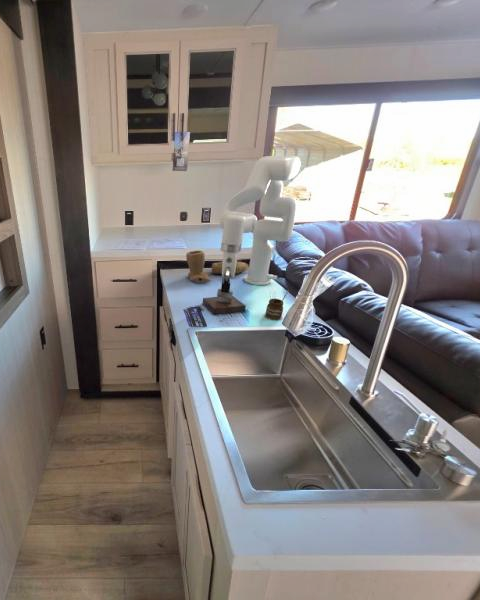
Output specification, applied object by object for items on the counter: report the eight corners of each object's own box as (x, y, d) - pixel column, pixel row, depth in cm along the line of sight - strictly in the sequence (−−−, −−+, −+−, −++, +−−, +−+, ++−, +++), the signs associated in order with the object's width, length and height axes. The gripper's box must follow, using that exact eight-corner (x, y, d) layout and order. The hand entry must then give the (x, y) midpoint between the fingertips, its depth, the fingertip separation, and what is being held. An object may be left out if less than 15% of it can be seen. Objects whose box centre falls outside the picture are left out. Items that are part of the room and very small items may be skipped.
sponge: (212, 278, 172) (251, 273, 167) (211, 264, 170) (250, 258, 165) (212, 274, 184) (248, 269, 179) (210, 261, 183) (246, 256, 178)
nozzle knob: (231, 301, 133) (232, 290, 131) (231, 303, 131) (232, 291, 129) (216, 299, 134) (218, 288, 132) (216, 301, 133) (217, 290, 131)
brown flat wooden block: (231, 301, 140) (232, 294, 139) (244, 312, 130) (245, 305, 129) (202, 304, 138) (202, 297, 136) (213, 315, 128) (214, 308, 126)
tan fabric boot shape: (183, 274, 174) (185, 247, 168) (205, 274, 173) (208, 248, 167) (186, 284, 160) (188, 255, 154) (210, 284, 160) (213, 255, 154)
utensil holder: (266, 312, 130) (271, 285, 125) (282, 315, 127) (288, 288, 122) (263, 318, 125) (269, 290, 121) (281, 321, 122) (287, 293, 118)
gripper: (241, 253, 115) (234, 296, 121) (240, 243, 130) (234, 282, 137) (220, 252, 117) (214, 294, 124) (221, 242, 132) (217, 280, 139)
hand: (225, 288), depth 130 cm, fingers open, 9 cm apart
